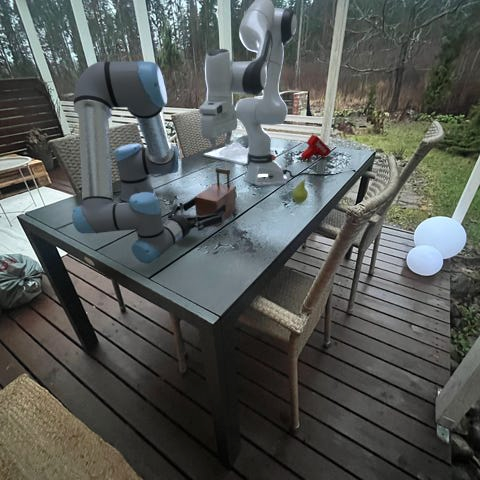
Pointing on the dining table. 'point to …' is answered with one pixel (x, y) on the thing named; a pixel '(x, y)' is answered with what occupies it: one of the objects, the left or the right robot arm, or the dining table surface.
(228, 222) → the dining table surface
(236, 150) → the relief map
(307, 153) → the toy gun
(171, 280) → the dining table surface
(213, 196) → the lid
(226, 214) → the chest
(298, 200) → the fruit
